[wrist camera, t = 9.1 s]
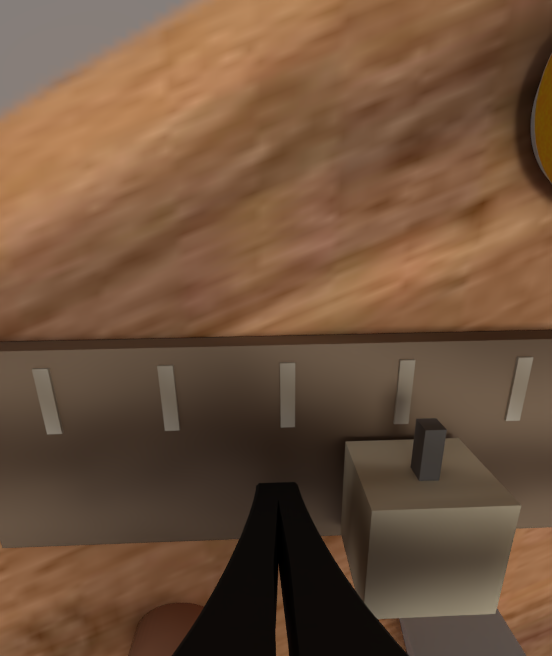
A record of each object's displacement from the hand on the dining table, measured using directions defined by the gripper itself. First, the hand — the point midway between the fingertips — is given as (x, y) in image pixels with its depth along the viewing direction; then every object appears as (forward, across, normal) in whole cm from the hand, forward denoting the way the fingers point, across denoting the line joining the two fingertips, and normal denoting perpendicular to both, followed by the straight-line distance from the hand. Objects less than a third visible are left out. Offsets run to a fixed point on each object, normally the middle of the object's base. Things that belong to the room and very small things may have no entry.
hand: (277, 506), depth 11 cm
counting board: (+2, 0, -2) cm, 3 cm away
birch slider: (+1, -4, -1) cm, 5 cm away
